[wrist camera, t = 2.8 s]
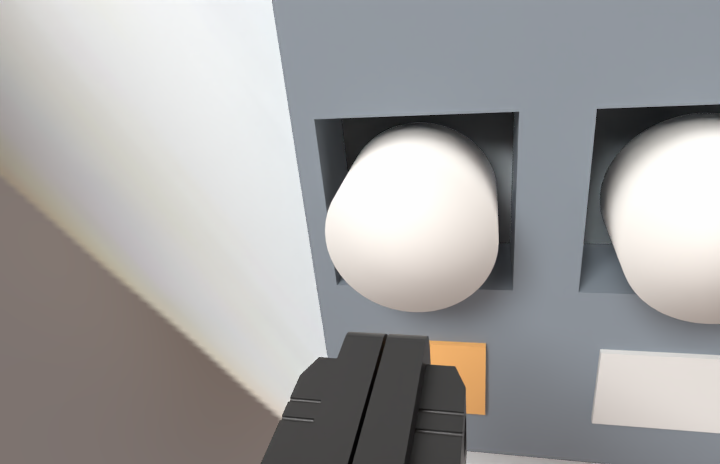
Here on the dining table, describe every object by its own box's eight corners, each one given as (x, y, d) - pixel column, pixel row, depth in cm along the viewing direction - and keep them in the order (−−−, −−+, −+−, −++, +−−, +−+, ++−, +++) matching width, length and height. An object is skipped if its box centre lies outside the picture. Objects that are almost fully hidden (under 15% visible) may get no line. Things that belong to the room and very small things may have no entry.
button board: (356, 385, 25) (339, 443, 22) (304, -12, 17) (269, 0, 14) (967, 428, 20) (1044, 509, 17) (1260, -98, 12) (1480, -105, 10)
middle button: (592, 261, 17) (610, 320, 15) (608, 115, 15) (633, 154, 13) (761, 264, 16) (812, 328, 14) (803, 109, 14) (873, 150, 12)
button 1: (356, 256, 19) (335, 309, 16) (341, 124, 17) (314, 161, 14) (496, 259, 18) (497, 315, 15) (498, 119, 16) (500, 157, 13)
